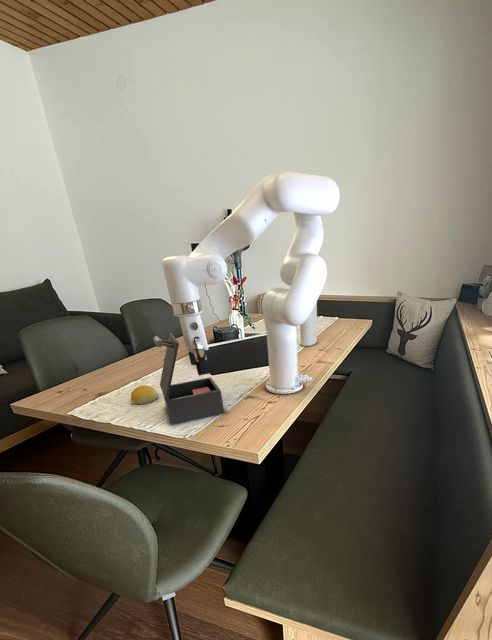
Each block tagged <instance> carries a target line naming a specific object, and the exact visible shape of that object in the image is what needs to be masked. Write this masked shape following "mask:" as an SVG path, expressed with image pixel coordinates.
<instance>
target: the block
mask: <svg viewBox="0 0 492 640" xmlns="http://www.w3.org/2000/svg"><path fill="white" fill-rule="evenodd" d="M210 391H211V390H210V389H209V388H208V387H204V388H199V389H194V390H192V394H193V395H195V394H200V393H205V392H210Z"/></svg>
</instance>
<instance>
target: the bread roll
mask: <svg viewBox="0 0 492 640" xmlns="http://www.w3.org/2000/svg"><path fill="white" fill-rule="evenodd" d="M158 395H159V394H158V391H157V390H156V388H154V387H153V386H151V385H139V386H137V387H135V388H134V389H133V390H132V391H131V393H130V402H131V403H132V404H135V405H146V404H149V403H151V402H154V401H155V400H156V399H157V398H158Z"/></svg>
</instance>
